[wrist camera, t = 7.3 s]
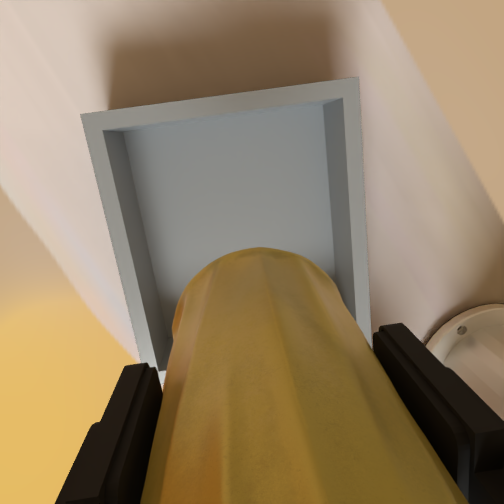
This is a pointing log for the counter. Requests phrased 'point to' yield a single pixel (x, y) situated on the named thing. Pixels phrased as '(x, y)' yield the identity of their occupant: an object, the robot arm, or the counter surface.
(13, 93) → the counter surface
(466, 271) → the counter surface
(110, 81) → the counter surface
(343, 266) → the box
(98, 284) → the counter surface
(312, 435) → the vase
